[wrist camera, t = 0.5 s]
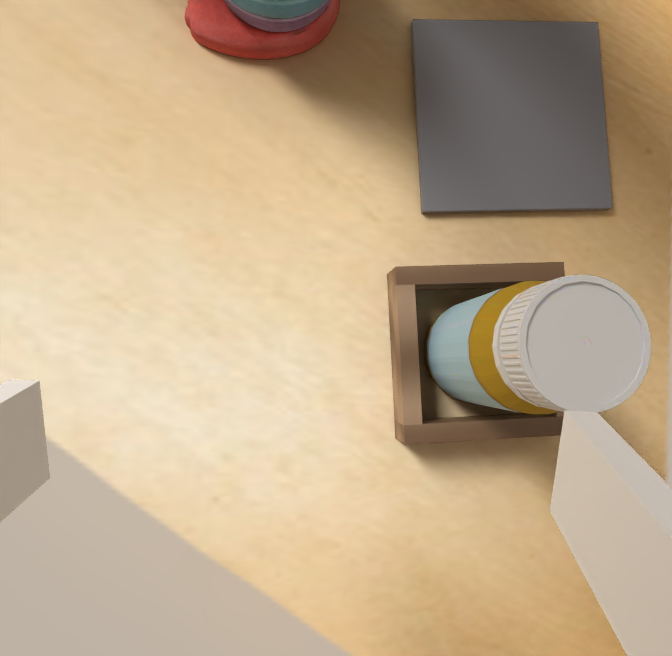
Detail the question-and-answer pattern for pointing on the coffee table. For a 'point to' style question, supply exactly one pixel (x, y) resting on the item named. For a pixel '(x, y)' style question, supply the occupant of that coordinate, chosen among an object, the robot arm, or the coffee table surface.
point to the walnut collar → (407, 356)
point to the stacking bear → (260, 25)
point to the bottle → (542, 347)
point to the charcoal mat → (510, 116)
